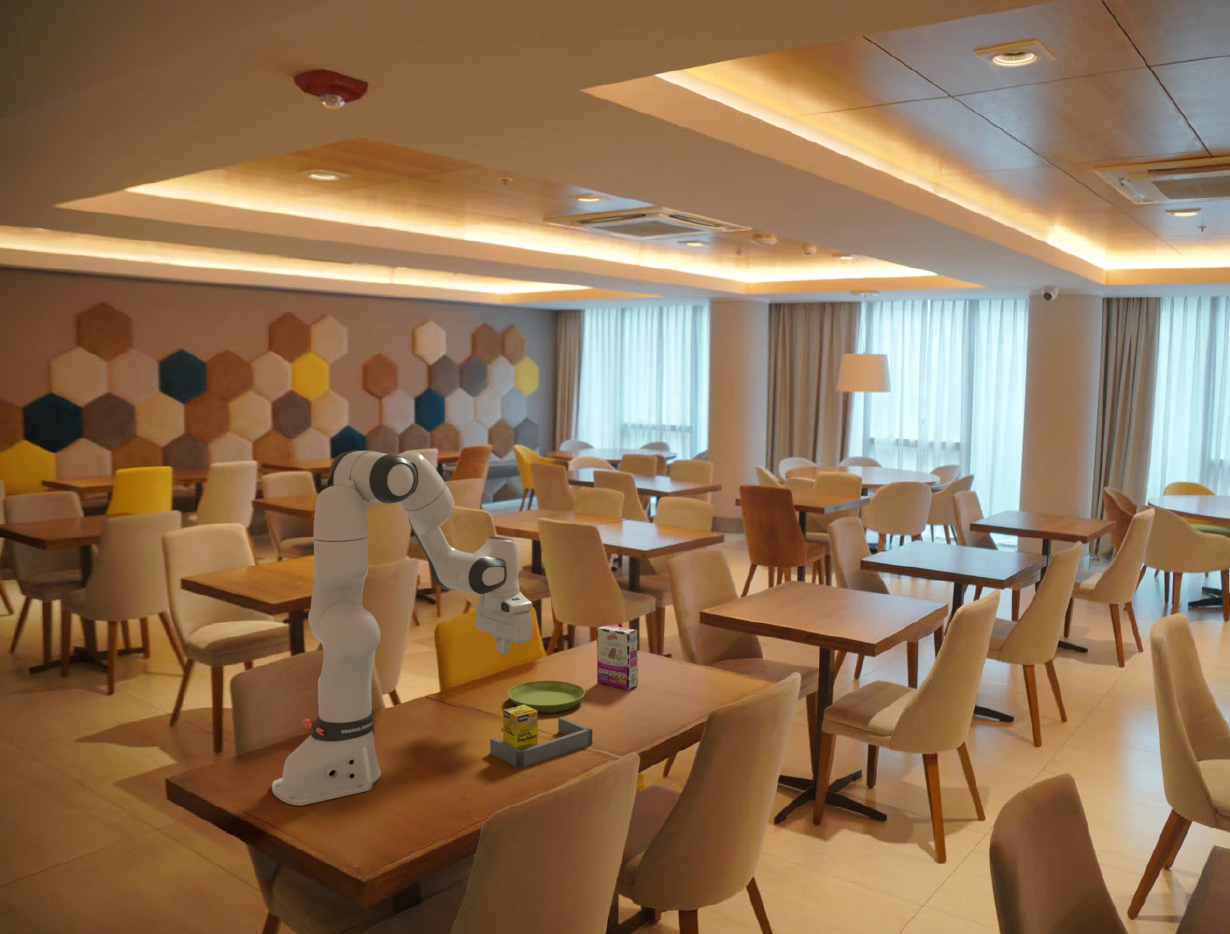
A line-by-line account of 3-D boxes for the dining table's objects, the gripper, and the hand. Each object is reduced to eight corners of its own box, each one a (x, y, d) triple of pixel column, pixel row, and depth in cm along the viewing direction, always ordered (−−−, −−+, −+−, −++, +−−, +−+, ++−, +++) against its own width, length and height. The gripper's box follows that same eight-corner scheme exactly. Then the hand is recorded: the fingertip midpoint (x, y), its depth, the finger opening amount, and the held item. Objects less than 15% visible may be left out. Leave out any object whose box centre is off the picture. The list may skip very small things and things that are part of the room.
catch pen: (519, 768, 208) (519, 753, 208) (490, 753, 217) (490, 738, 217) (592, 743, 223) (592, 729, 222) (562, 730, 231) (562, 716, 231)
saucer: (555, 722, 238) (555, 710, 237) (492, 707, 248) (491, 695, 248) (599, 699, 255) (599, 687, 255) (538, 686, 266) (538, 675, 266)
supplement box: (516, 763, 211) (516, 716, 210) (502, 755, 216) (502, 709, 215) (538, 756, 215) (538, 710, 214) (524, 749, 220) (523, 703, 219)
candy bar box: (638, 686, 265) (638, 629, 264) (628, 691, 261) (628, 633, 260) (606, 679, 271) (606, 623, 270) (596, 683, 267) (596, 627, 266)
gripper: (468, 594, 242) (469, 647, 243) (515, 608, 227) (516, 664, 228) (489, 590, 246) (490, 642, 247) (536, 604, 231) (537, 659, 232)
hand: (503, 653), depth 238 cm, fingers closed
